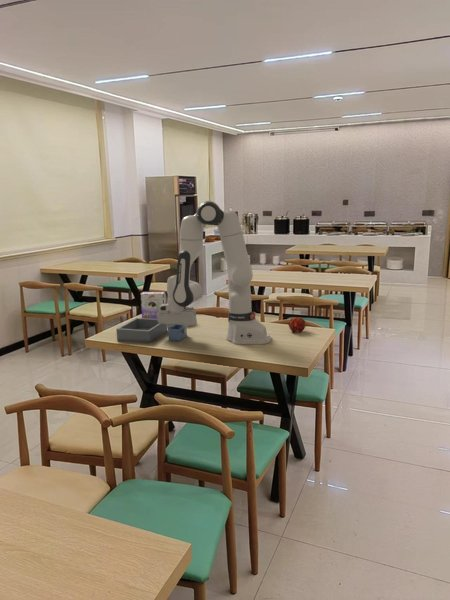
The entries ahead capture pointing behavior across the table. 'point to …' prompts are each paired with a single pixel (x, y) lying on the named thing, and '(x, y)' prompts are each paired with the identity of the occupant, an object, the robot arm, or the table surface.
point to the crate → (140, 330)
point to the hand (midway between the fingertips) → (177, 332)
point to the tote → (176, 333)
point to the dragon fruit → (297, 324)
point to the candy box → (151, 304)
